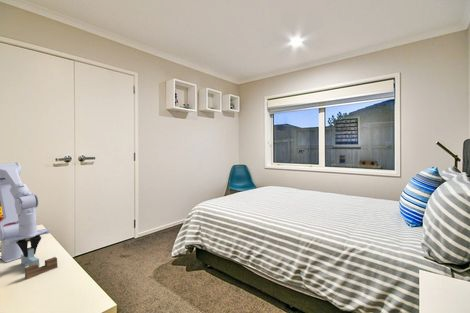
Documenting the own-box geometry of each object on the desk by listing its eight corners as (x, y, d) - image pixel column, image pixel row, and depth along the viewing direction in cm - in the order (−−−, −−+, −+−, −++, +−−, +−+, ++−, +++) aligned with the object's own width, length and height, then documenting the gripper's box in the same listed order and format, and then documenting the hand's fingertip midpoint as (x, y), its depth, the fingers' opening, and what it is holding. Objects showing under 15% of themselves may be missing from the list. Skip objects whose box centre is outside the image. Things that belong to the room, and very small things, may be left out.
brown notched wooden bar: (25, 277, 90) (24, 267, 90) (55, 266, 98) (54, 256, 98) (27, 279, 89) (26, 269, 89) (57, 267, 97) (57, 257, 97)
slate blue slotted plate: (21, 263, 101) (20, 246, 101) (27, 261, 103) (26, 245, 103) (33, 270, 95) (32, 252, 95) (39, 268, 97) (38, 250, 97)
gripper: (8, 230, 90) (10, 265, 91) (52, 220, 103) (54, 250, 103) (1, 228, 93) (3, 260, 94) (45, 218, 106) (46, 247, 107)
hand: (29, 255), depth 99 cm, fingers closed on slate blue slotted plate, 2 cm apart
